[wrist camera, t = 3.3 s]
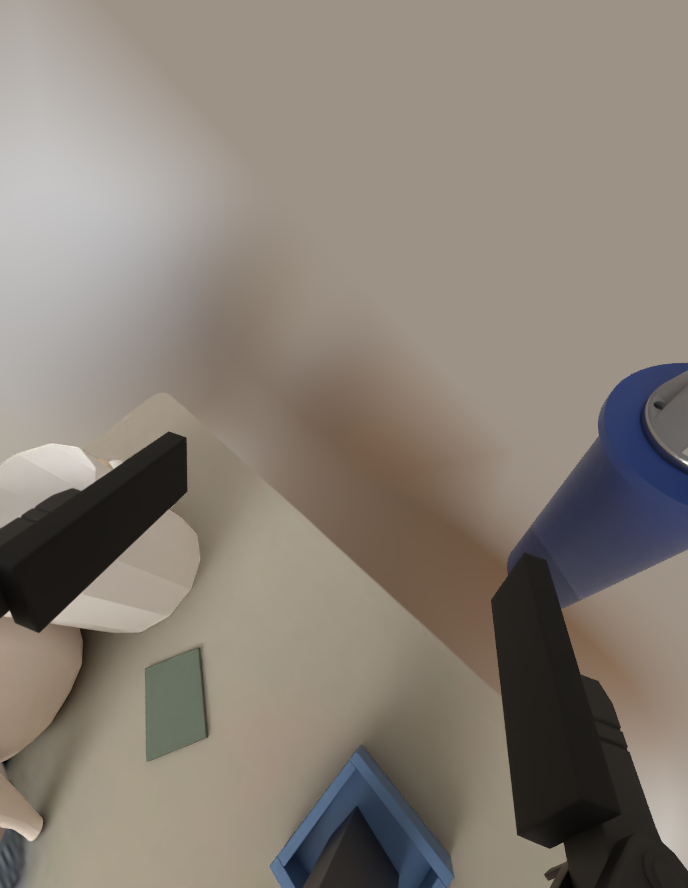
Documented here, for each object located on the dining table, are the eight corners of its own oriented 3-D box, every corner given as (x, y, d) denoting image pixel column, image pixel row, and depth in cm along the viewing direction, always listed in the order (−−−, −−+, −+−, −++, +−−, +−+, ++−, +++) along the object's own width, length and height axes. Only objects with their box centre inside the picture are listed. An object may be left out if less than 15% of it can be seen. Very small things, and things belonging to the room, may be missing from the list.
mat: (147, 668, 40) (144, 668, 39) (199, 647, 40) (198, 647, 40) (148, 761, 35) (146, 761, 35) (207, 736, 35) (206, 737, 35)
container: (174, 641, 40) (32, 619, 25) (67, 626, 43) (-117, 598, 28) (214, 517, 48) (123, 444, 33) (120, 511, 51) (-2, 442, 36)
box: (361, 744, 33) (356, 750, 30) (450, 856, 29) (454, 877, 26) (283, 848, 30) (269, 867, 27) (368, 991, 26) (362, 1031, 23)
